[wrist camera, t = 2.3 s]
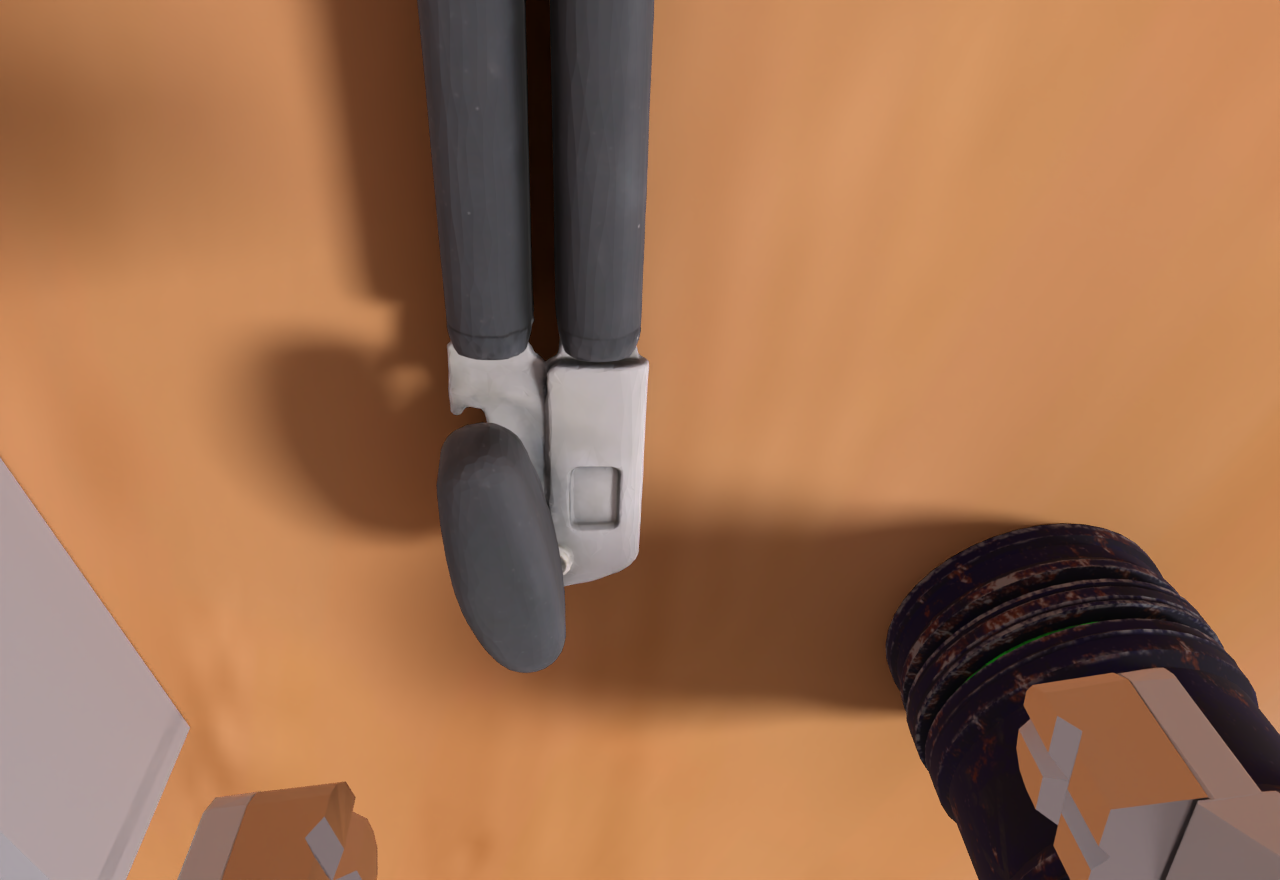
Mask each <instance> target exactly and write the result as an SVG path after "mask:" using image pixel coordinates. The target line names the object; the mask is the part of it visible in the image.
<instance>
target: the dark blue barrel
mask: <svg viewBox="0 0 1280 880" xmlns="http://www.w3.org/2000/svg"><path fill="white" fill-rule="evenodd" d="M886 659H887V662H888V665H889V668H890V671H891V674H892V677H893V679H894V682H895V684H896V685H897V687H898V689H899V690H900V692H901V698H902V701H903V705H904V708H905V711H906V715H907V723H908V726H909V729H910V733H911V735H912V738H913V741H914V743H915V746H916V749H917V751H918V754H919V757H920V759H921V761H922V762H923V764H924V765H925V767H926V768H927V770H928V771H929V774H930V776H931V779H932V782H933V785H934V787H935V789H936V792H937V795H938V797H939V800H940V803H941V805H942V806H943V808H944V810H945V811H946V813H947V814H948V816H949V817H950V818H951V819H953V820H954V821H955V822H956V823H957V825H958V828H959V830H960V833H961V836H962V838H963V841H964V843H965V846H966V848H967V851H968V853H969V856H970V859H971V861H972V864H973V866H974V869H975V871H976V874H977V876H978V879H979V880H1070V878H1069V876H1068V874H1067V872H1066V870H1065V868H1064V866H1063V864H1062V862H1061V860H1060V858H1059V856H1058V854H1057V852H1056V850H1055V848H1054V846H1053V845H1054V840H1055V836H1056V832H1057V827H1058V825H1057V824H1055V823H1054V822H1053V821H1051V820H1050V819H1048V818H1047V817H1046V816H1044V815H1043V814H1042V813H1040V812H1039V811H1038V810H1036V809H1035V807H1034V805H1033V802H1032V800H1031V798H1030V796H1029V794H1028V792H1027V790H1026V787H1025V784H1024V781H1023V778H1022V775H1021V772H1020V769H1019V762H1018V755H1017V749H1016V746H1017V739H1018V732H1019V729H1020V728H1021V727H1022V726H1023V725H1024V724H1025V723H1026V722H1027V721H1028V720H1030V717H1029V715H1028V713H1027V711H1026V709H1025V707H1024V700H1025V696H1026V691H1027V690H1028V689H1029V688H1030V687H1031V686H1032V685H1036V684H1043V683H1049V682H1056V681H1062V680H1069V679H1075V678H1082V677H1088V676H1094V675H1101V674H1107V673H1115V674H1118V673H1124V672H1130V671H1137V670H1143V669H1149V668H1155V667H1156V668H1165V669H1167V670H1168V671H1170V672H1171V673H1172V674H1174V675H1175V677H1176V678H1177V679H1178V681H1179V682H1180V683H1181V685H1182V686H1183V687H1184V689H1185V690H1186V691H1187V693H1188V694H1189V695H1190V697H1191V698H1192V699H1193V701H1194V702H1195V703H1196V705H1197V706H1198V707H1199V709H1200V710H1201V711H1202V713H1203V714H1204V715H1205V717H1206V718H1207V719H1208V721H1209V722H1210V723H1211V725H1212V726H1213V727H1214V729H1215V730H1216V731H1217V733H1218V734H1219V735H1220V737H1221V738H1222V739H1223V741H1224V742H1225V744H1226V745H1227V746H1228V748H1229V749H1230V750H1231V752H1232V753H1233V754H1234V756H1235V757H1236V758H1237V760H1238V761H1239V762H1240V764H1241V765H1242V766H1243V768H1244V769H1245V770H1246V772H1247V773H1248V774H1249V776H1250V777H1251V778H1252V780H1253V781H1254V782H1255V784H1256V785H1257V786H1258V788H1259V789H1260V790H1261V792H1266V791H1277V792H1279V793H1280V735H1279V733H1278V732H1277V731H1276V730H1275V728H1274V727H1273V726H1272V725H1271V723H1270V722H1269V721H1268V719H1267V718H1266V717H1265V716H1264V714H1263V713H1262V712H1261V711H1260V709H1259V708H1258V702H1257V697H1256V692H1255V691H1254V689H1253V687H1252V685H1251V684H1250V682H1249V680H1248V679H1247V678H1246V676H1245V675H1244V674H1243V673H1242V671H1241V670H1240V669H1239V668H1238V666H1237V664H1236V662H1235V660H1234V659H1232V658H1231V657H1230V656H1229V655H1228V654H1227V653H1226V651H1225V650H1224V648H1223V646H1222V644H1221V642H1220V640H1219V639H1218V637H1217V635H1216V634H1215V632H1214V631H1213V630H1212V629H1211V628H1210V626H1209V625H1208V624H1207V623H1206V621H1205V620H1204V619H1203V618H1202V617H1201V616H1200V614H1199V613H1198V611H1197V610H1196V609H1195V608H1194V607H1193V606H1192V605H1191V604H1190V603H1189V602H1188V601H1187V600H1185V599H1184V598H1183V597H1181V596H1180V595H1179V594H1178V593H1177V591H1176V590H1175V589H1174V588H1173V587H1172V586H1171V585H1170V584H1169V583H1168V582H1167V581H1166V580H1165V579H1164V578H1163V577H1162V575H1161V573H1160V572H1159V570H1158V569H1157V567H1156V565H1155V564H1154V563H1153V561H1152V560H1151V559H1150V558H1149V556H1148V555H1147V554H1146V553H1145V552H1144V551H1143V550H1142V549H1141V548H1140V547H1139V546H1138V545H1137V544H1136V543H1134V542H1133V541H1131V540H1129V539H1128V538H1126V537H1124V536H1123V535H1121V534H1118V533H1115V532H1113V531H1110V530H1107V529H1104V528H1099V527H1094V526H1089V525H1080V524H1053V525H1040V526H1035V527H1030V528H1024V529H1019V530H1015V531H1012V532H1008V533H1005V534H1002V535H999V536H995V537H992V538H990V539H988V540H985V541H983V542H981V543H978V544H976V545H974V546H971V547H969V548H968V549H966V550H964V551H962V552H960V553H959V554H957V555H955V556H953V557H951V558H950V559H948V560H947V561H945V562H944V563H943V564H941V565H940V566H938V567H937V568H936V569H934V570H933V571H931V572H930V573H929V574H928V575H927V576H926V577H925V578H924V579H923V580H921V581H920V582H919V583H918V584H917V585H916V586H915V587H914V588H913V590H912V591H911V592H910V593H909V594H908V595H907V597H906V598H905V599H904V600H903V602H902V603H901V605H900V607H899V608H898V610H897V612H896V613H895V615H894V617H893V620H892V622H891V625H890V627H889V630H888V634H887V640H886Z"/></svg>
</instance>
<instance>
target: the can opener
mask: <svg viewBox="0 0 1280 880" xmlns="http://www.w3.org/2000/svg"><path fill="white" fill-rule="evenodd" d="M417 3H418V13H419V24H420V34H421V44H422V55H423V65H424V75H425V86H426V97H427V109H428V120H429V132H430V143H431V155H432V165H433V176H434V187H435V198H436V210H437V223H438V234H439V245H440V256H441V267H442V277H443V286H444V296H445V308H446V319H447V329H448V333H449V337H450V339H451V341H450V342H449V343H448V344H447V352H448V368H449V388H448V391H449V399H450V406H451V412H452V413H453V414H454V415H460V414H461V413H462V412H463V410H464V409H465V408H466V407H474V408H480V409H482V410H483V412H484V413H485V416H486V420H487V423H477V424H470V425H466V426H464V427H462V428H459V429H457V430H455V431H453V432H452V433H451V434H450V435H449V436H448V437H447V439H446V441H445V442H444V444H443V446H442V449H441V454H440V463H439V471H438V478H437V498H438V508H439V517H440V526H441V532H442V538H443V544H444V550H445V556H446V561H447V565H448V569H449V573H450V578H451V582H452V585H453V589H454V592H455V595H456V598H457V600H458V603H459V606H460V608H461V611H462V613H463V615H464V617H465V619H466V621H467V623H468V625H469V626H470V628H471V629H472V631H473V633H474V634H475V636H476V637H477V639H478V640H479V642H480V643H481V645H482V646H483V647H484V649H485V650H486V651H487V652H488V653H489V654H490V655H491V656H492V657H493V658H494V659H495V660H496V661H497V662H498V663H500V664H501V665H502V666H504V667H506V668H507V669H509V670H512V671H516V672H522V673H530V672H536V671H539V670H542V669H545V668H546V667H548V666H549V665H551V664H552V663H553V662H554V661H555V660H556V659H557V658H558V656H559V655H560V653H561V652H562V649H563V646H564V642H565V638H566V625H565V591H564V586H568V585H573V584H579V583H584V582H589V581H593V580H597V579H600V578H603V577H605V576H608V575H611V574H613V573H616V572H619V571H621V570H623V569H624V568H626V567H628V566H629V565H631V563H632V562H633V561H634V560H635V559H636V557H637V555H638V553H639V538H640V523H641V501H642V485H643V461H644V440H645V420H646V404H647V385H648V372H649V361H648V360H647V359H646V358H644V357H642V356H641V355H639V353H638V350H637V347H636V345H637V342H638V340H639V337H640V332H641V313H642V284H643V261H644V239H645V212H646V194H647V167H648V137H649V107H650V85H651V65H652V41H653V21H654V0H550V45H551V94H552V141H553V189H554V261H555V308H556V318H557V324H558V331H559V336H560V340H559V349H558V353H557V354H556V355H555V356H553V357H551V358H550V359H548V360H547V361H544V359H543V358H542V357H541V356H540V355H538V354H537V353H535V352H534V350H533V348H532V346H531V345H530V343H529V342H528V341H529V337H530V334H531V328H532V324H533V322H534V315H533V314H534V300H533V282H532V252H531V205H530V169H529V132H528V75H527V41H526V0H417Z"/></svg>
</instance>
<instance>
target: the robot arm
mask: <svg viewBox="0 0 1280 880" xmlns="http://www.w3.org/2000/svg"><path fill="white" fill-rule="evenodd" d="M1024 707H1025V709H1026V711H1027V713H1028V715H1029V717H1030V720H1028V721H1027V722H1026V723H1025V724H1024V725H1023V726H1022V727H1021V728H1020V729H1019V732H1018V739H1017V746H1016V749H1017V755H1018V762H1019V769H1020V772H1021V775H1022V778H1023V781H1024V784H1025V787H1026V790H1027V792H1028V794H1029V796H1030V798H1031V800H1032V802H1033V805H1034V807H1035V809H1036V810H1038V811H1039V812H1040V813H1042V814H1043V815H1044V816H1046V817H1047V818H1048V819H1050V820H1051V821H1053V822H1054V823H1055V824H1057V825H1058V827H1057V832H1056V836H1055V840H1054V845H1053V846H1054V848H1055V850H1056V852H1057V854H1058V856H1059V858H1060V860H1061V862H1062V864H1063V866H1064V868H1065V870H1066V872H1067V874H1068V876H1069V878H1070V880H1280V793H1279V792H1277V791H1266V792H1261V790H1260V789H1259V788H1258V786H1257V785H1256V784H1255V782H1254V781H1253V780H1252V778H1251V777H1250V776H1249V774H1248V773H1247V772H1246V770H1245V769H1244V768H1243V766H1242V765H1241V764H1240V762H1239V761H1238V760H1237V758H1236V757H1235V756H1234V754H1233V753H1232V752H1231V750H1230V749H1229V748H1228V746H1227V745H1226V744H1225V742H1224V741H1223V739H1222V738H1221V737H1220V735H1219V734H1218V733H1217V731H1216V730H1215V729H1214V727H1213V726H1212V725H1211V723H1210V722H1209V721H1208V719H1207V718H1206V717H1205V715H1204V714H1203V713H1202V711H1201V710H1200V709H1199V707H1198V706H1197V705H1196V703H1195V702H1194V701H1193V699H1192V698H1191V697H1190V695H1189V694H1188V693H1187V691H1186V690H1185V689H1184V687H1183V686H1182V685H1181V683H1180V682H1179V681H1178V679H1177V678H1176V677H1175V675H1174V674H1172V673H1171V672H1170V671H1168V670H1167V669H1165V668H1156V667H1155V668H1149V669H1143V670H1137V671H1130V672H1124V673H1118V674H1115V673H1107V674H1101V675H1094V676H1088V677H1082V678H1075V679H1069V680H1062V681H1056V682H1049V683H1043V684H1036V685H1032V686H1031V687H1030V688H1029V689H1028V690H1027V691H1026V696H1025V700H1024ZM355 798H356V797H355V796H354V794H353V792H352V791H351V789H350V788H349V786H348V784H347V783H346V782H337V783H329V784H321V785H313V786H305V787H296V788H288V789H280V790H272V791H264V792H253V793H246V794H238V795H231V796H224V797H217V798H215V799H214V800H213V801H212V802H211V804H210V805H209V806H208V807H207V809H206V810H205V811H204V813H203V815H202V818H201V820H200V823H199V825H198V828H197V830H196V833H195V836H194V838H193V841H192V843H191V846H190V849H189V851H188V854H187V856H186V859H185V861H184V864H183V867H182V869H181V872H180V874H179V877H178V879H177V880H377V874H378V866H377V844H376V840H375V835H374V831H373V829H372V827H371V825H370V823H369V821H368V819H367V818H365V817H363V816H361V815H359V814H357V813H355V812H353V807H354V802H355Z"/></svg>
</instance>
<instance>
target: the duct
mask: <svg viewBox="0 0 1280 880" xmlns="http://www.w3.org/2000/svg"><path fill="white" fill-rule="evenodd" d="M189 729H190V727H189V725H188V724H187V723H186V721H185V720H184V718H183V717H182V716H181V714H180V713H179V711H178V710H177V708H176V707H175V706H174V704H173V703H172V701H171V700H170V698H169V697H168V696H167V694H166V693H165V691H164V690H163V688H162V687H161V686H160V684H159V683H158V681H157V680H156V679H155V677H154V676H153V674H152V673H151V671H150V670H149V669H148V667H147V666H146V664H145V663H144V661H143V660H142V659H141V657H140V656H139V654H138V653H137V651H136V650H135V649H134V647H133V646H132V644H131V643H130V642H129V640H128V639H127V637H126V636H125V634H124V633H123V632H122V630H121V629H120V627H119V626H118V624H117V623H116V622H115V620H114V619H113V617H112V616H111V615H110V613H109V612H108V610H107V609H106V607H105V606H104V605H103V603H102V602H101V600H100V599H99V597H98V596H97V595H96V593H95V592H94V590H93V589H92V587H91V586H90V585H89V583H88V582H87V580H86V579H85V578H84V576H83V575H82V573H81V572H80V570H79V569H78V568H77V566H76V565H75V563H74V562H73V560H72V559H71V558H70V556H69V555H68V553H67V552H66V550H65V549H64V548H63V546H62V545H61V543H60V542H59V541H58V539H57V538H56V536H55V535H54V533H53V532H52V531H51V529H50V528H49V526H48V525H47V523H46V522H45V521H44V519H43V518H42V516H41V515H40V513H39V512H38V511H37V509H36V508H35V506H34V505H33V504H32V502H31V501H30V499H29V498H28V496H27V495H26V494H25V492H24V491H23V489H22V488H21V486H20V485H19V484H18V482H17V481H16V479H15V478H14V477H13V475H12V474H11V472H10V471H9V469H8V468H7V467H6V465H5V464H4V462H3V461H2V459H1V458H0V880H126V878H127V876H128V873H129V871H130V869H131V866H132V864H133V862H134V859H135V857H136V855H137V852H138V850H139V847H140V845H141V843H142V840H143V838H144V836H145V833H146V831H147V828H148V826H149V824H150V821H151V819H152V817H153V814H154V812H155V810H156V807H157V805H158V802H159V800H160V798H161V795H162V793H163V791H164V788H165V786H166V784H167V781H168V779H169V776H170V774H171V772H172V769H173V767H174V765H175V762H176V760H177V757H178V755H179V753H180V750H181V748H182V746H183V743H184V741H185V739H186V736H187V734H188V731H189Z"/></svg>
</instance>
